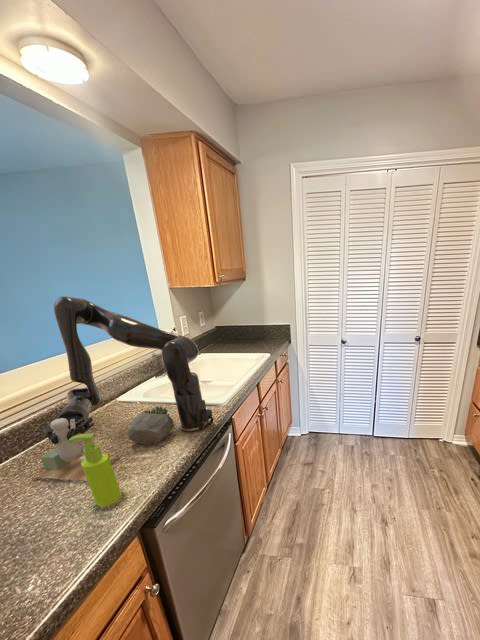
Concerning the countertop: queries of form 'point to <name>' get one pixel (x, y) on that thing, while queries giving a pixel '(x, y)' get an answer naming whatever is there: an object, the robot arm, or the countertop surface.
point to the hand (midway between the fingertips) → (61, 439)
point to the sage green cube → (53, 460)
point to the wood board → (67, 471)
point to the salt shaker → (65, 441)
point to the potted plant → (151, 426)
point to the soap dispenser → (98, 472)
